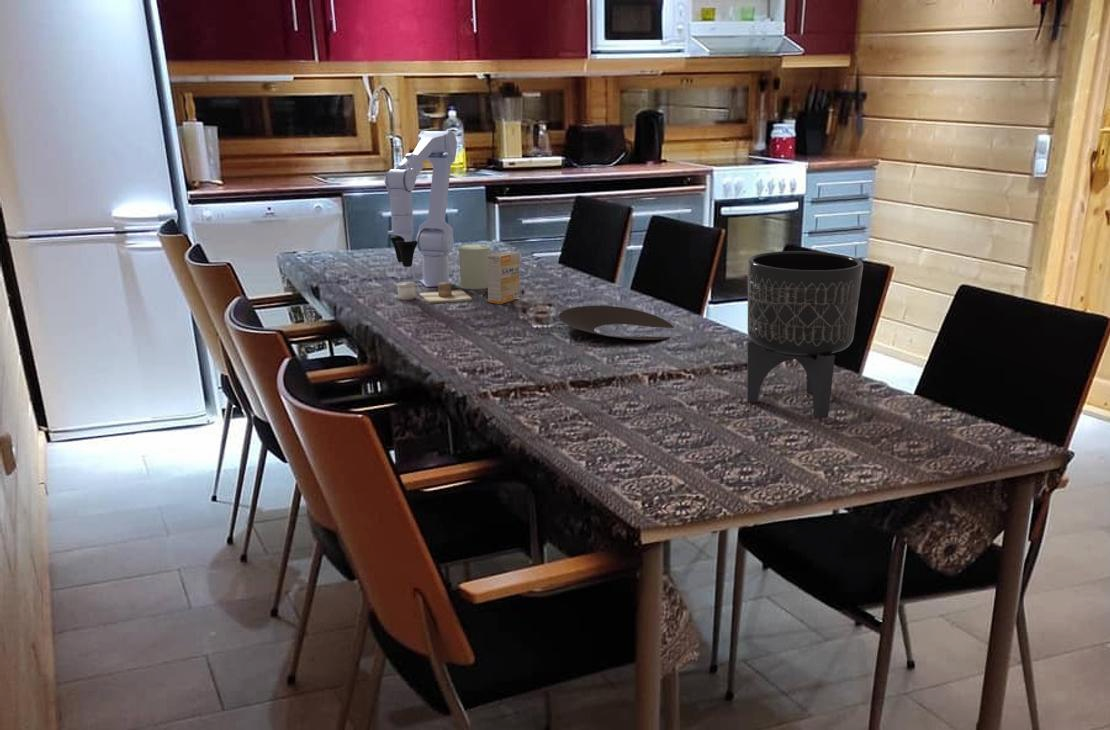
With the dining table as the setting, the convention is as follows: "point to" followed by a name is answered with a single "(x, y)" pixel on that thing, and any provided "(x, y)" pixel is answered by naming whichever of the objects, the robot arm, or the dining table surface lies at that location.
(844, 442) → the dining table surface
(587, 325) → the plate
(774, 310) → the planter
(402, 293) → the cap
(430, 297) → the square wooden board
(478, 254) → the can
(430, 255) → the robot arm
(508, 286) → the supplement box
